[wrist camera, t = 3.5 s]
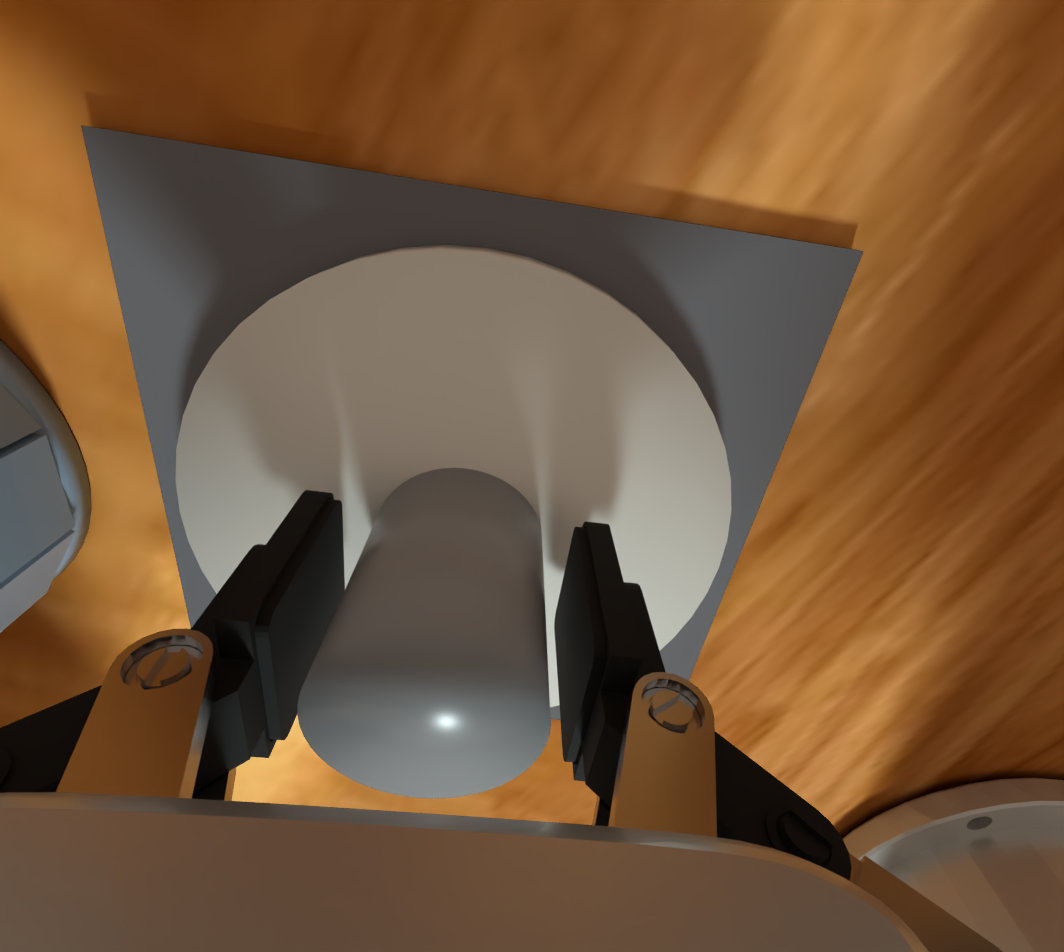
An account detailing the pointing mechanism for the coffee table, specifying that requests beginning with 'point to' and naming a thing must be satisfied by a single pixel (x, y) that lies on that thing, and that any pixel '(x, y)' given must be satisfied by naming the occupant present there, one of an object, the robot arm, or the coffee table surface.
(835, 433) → the coffee table surface
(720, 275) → the mat
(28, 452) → the bowl
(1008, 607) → the coffee table surface
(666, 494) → the lid
